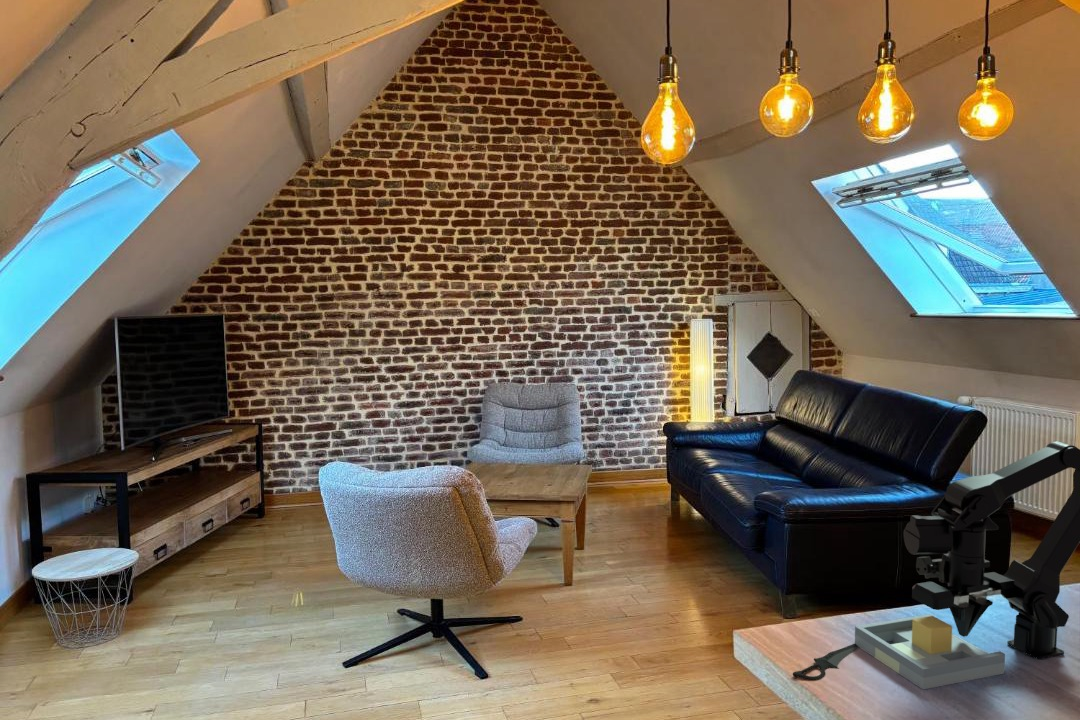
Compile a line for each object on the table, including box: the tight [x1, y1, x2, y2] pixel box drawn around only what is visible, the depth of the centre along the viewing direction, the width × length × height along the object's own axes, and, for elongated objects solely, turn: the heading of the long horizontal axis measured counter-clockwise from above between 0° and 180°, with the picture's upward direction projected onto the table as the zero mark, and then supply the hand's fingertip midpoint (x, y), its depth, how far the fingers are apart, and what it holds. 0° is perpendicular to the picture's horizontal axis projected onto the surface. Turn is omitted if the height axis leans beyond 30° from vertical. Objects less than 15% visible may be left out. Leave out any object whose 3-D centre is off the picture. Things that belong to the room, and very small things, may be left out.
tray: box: [854, 613, 1006, 690], centre depth 140 cm, size 17×17×4 cm
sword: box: [792, 642, 861, 681], centre depth 141 cm, size 27×4×1 cm, turn 128°
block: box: [912, 615, 953, 654], centre depth 140 cm, size 4×4×4 cm
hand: (963, 635), depth 142 cm, fingers closed
